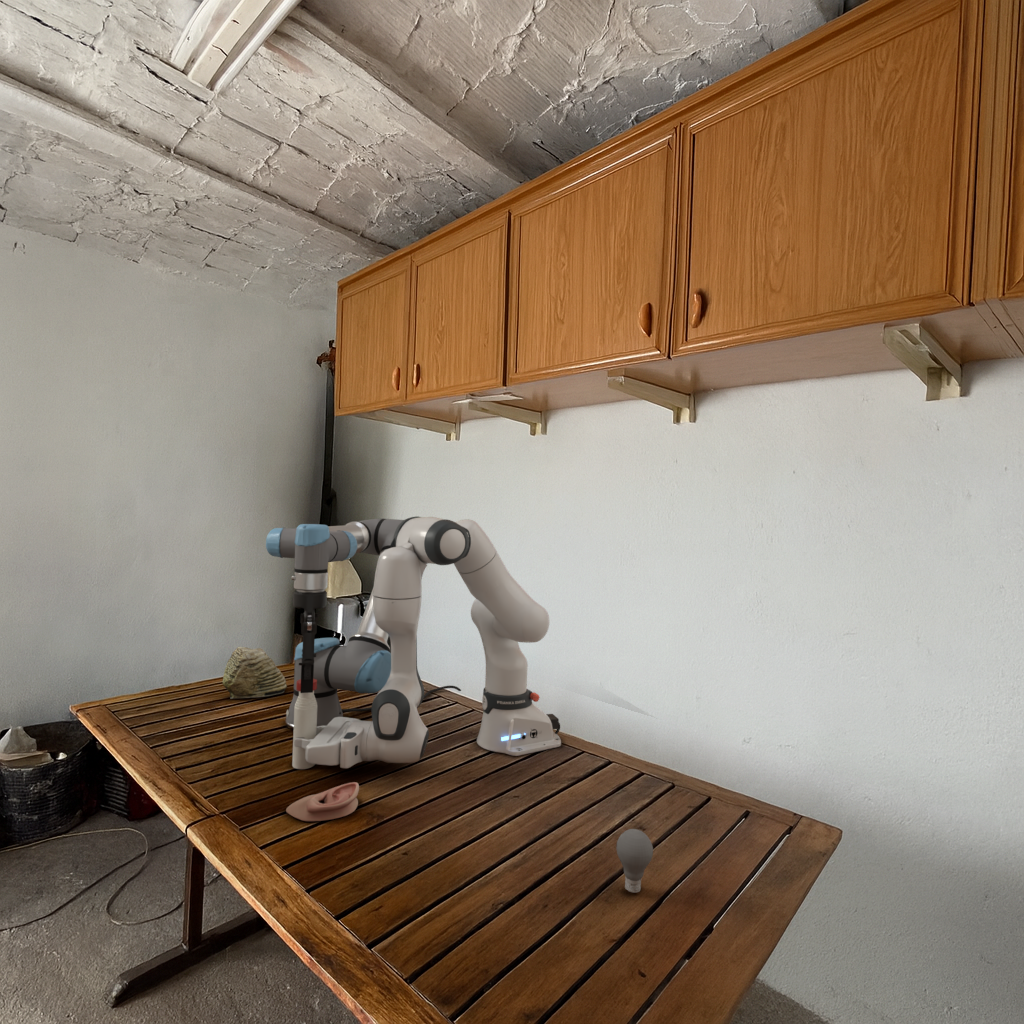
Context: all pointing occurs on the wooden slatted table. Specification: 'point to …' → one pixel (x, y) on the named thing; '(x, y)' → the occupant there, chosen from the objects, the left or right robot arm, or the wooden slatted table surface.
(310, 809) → the anatomical model
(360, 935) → the wooden slatted table surface
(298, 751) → the bottle
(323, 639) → the left robot arm
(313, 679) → the cap
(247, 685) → the fossil
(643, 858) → the light bulb
